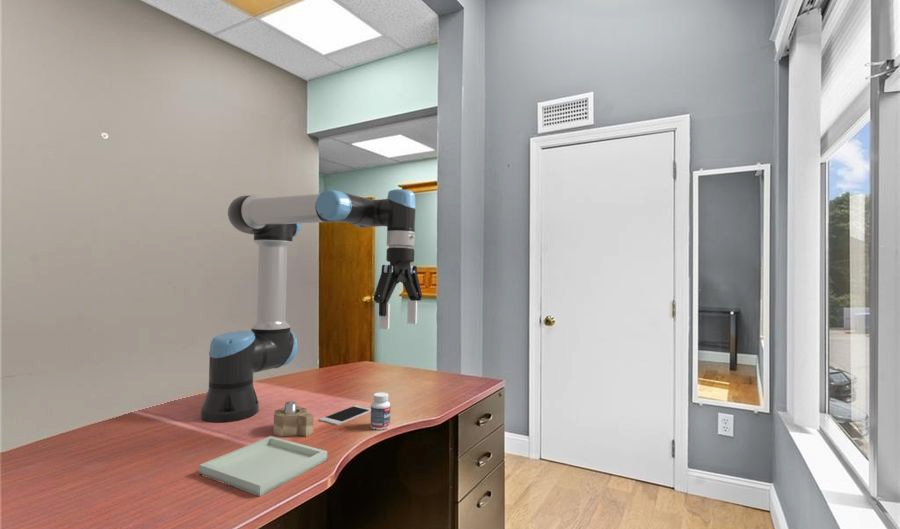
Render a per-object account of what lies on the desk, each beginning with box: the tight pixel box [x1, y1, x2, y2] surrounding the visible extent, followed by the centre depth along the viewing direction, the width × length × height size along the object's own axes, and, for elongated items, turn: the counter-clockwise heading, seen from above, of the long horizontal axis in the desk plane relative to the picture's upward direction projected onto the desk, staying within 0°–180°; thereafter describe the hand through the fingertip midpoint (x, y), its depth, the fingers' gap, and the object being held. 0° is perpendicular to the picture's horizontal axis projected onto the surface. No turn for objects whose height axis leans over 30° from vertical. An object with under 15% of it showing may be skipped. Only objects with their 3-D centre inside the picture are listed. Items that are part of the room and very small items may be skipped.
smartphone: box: [319, 404, 371, 426], centre depth 128 cm, size 7×15×1 cm, turn 151°
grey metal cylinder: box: [284, 401, 297, 415], centre depth 115 cm, size 3×3×7 cm
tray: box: [198, 435, 328, 497], centre depth 94 cm, size 18×18×2 cm
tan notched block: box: [273, 405, 314, 438], centre depth 114 cm, size 11×8×5 cm
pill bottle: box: [370, 391, 391, 431], centre depth 119 cm, size 5×5×9 cm
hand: (398, 326), depth 118 cm, fingers open, 13 cm apart
